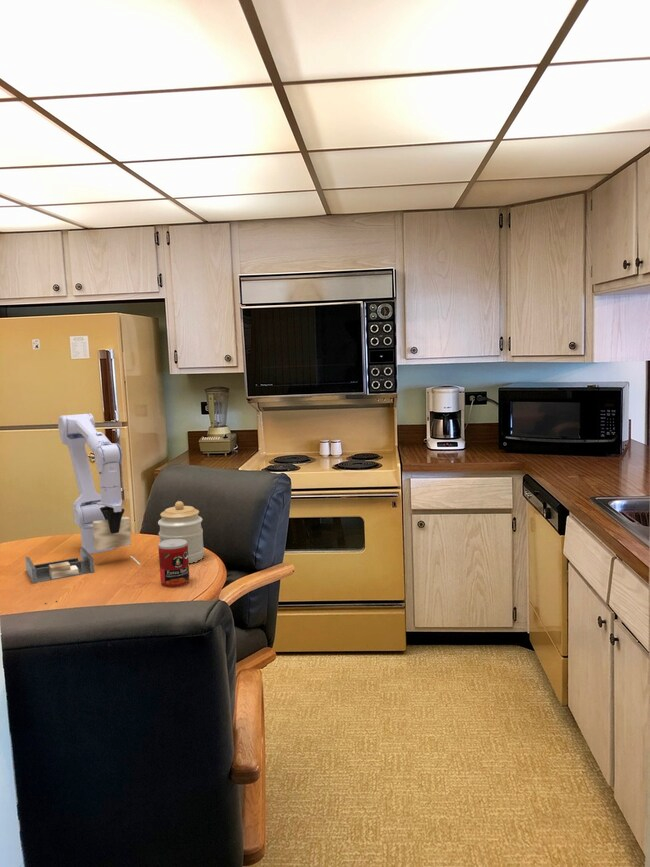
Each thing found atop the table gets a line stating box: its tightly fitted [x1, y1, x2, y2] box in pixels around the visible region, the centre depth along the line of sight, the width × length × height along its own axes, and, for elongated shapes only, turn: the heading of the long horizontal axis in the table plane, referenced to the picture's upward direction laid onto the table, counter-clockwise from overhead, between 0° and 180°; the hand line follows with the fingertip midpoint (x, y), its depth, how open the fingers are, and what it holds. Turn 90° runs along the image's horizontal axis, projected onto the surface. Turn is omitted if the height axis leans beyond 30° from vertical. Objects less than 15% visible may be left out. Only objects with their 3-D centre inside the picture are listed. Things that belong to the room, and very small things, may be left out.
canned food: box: [158, 539, 190, 588], centre depth 184 cm, size 8×8×11 cm
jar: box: [157, 500, 205, 564], centre depth 205 cm, size 13×13×18 cm
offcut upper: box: [49, 562, 71, 573], centre depth 191 cm, size 5×3×2 cm
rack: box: [24, 547, 95, 584], centre depth 194 cm, size 16×13×5 cm
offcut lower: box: [49, 565, 79, 579], centre depth 191 cm, size 7×4×2 cm, turn 120°
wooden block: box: [93, 516, 132, 550], centre depth 201 cm, size 10×3×8 cm, turn 121°
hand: (113, 531), depth 201 cm, fingers closed on wooden block, 3 cm apart
